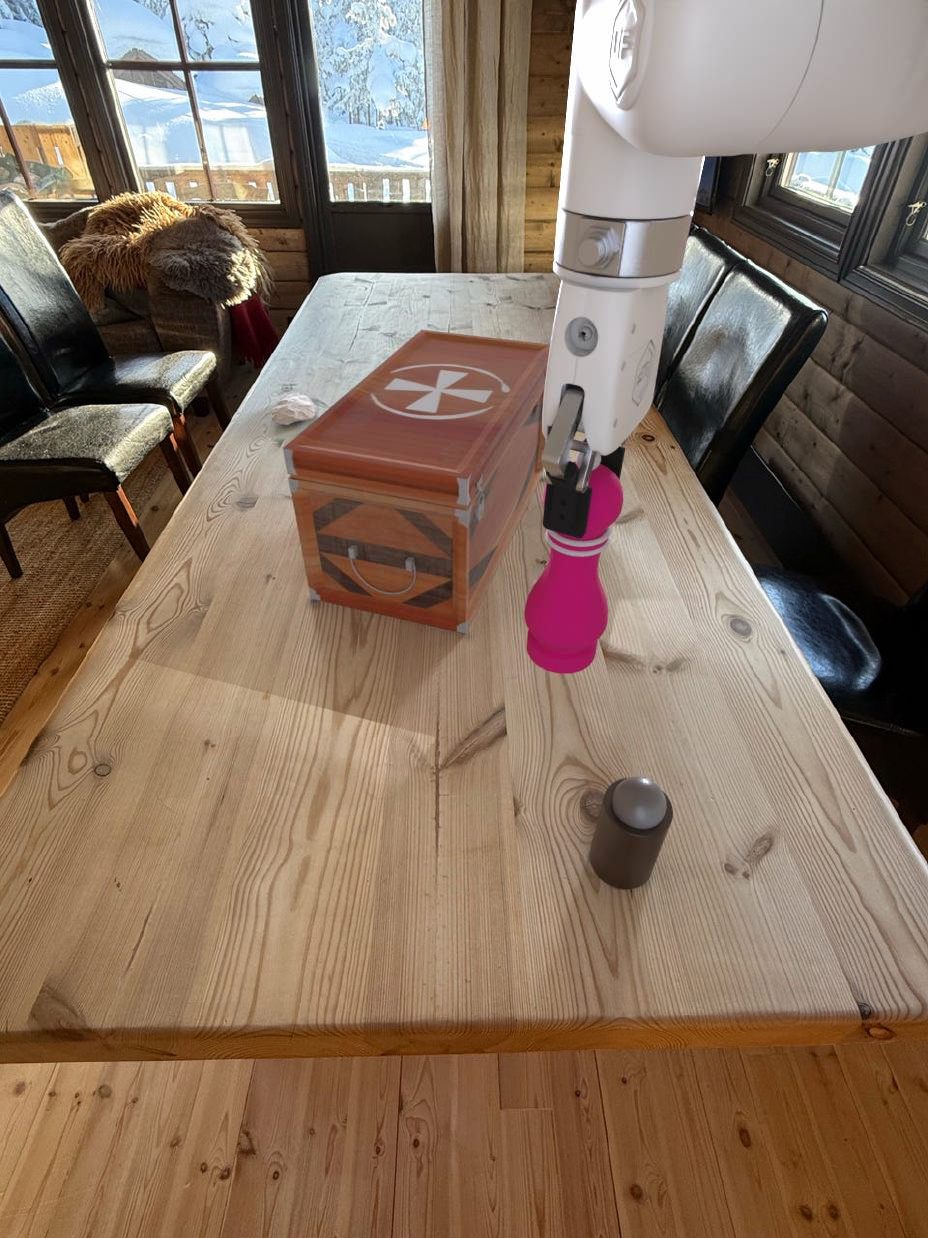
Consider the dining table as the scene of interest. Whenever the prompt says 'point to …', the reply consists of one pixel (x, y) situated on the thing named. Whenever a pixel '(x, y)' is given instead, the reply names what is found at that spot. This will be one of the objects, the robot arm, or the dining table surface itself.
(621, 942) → the dining table surface
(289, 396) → the stone
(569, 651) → the pepper mill
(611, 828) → the salt shaker
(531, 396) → the wooden box
